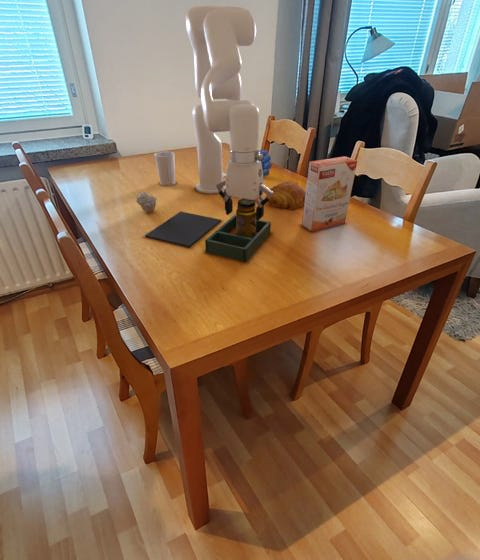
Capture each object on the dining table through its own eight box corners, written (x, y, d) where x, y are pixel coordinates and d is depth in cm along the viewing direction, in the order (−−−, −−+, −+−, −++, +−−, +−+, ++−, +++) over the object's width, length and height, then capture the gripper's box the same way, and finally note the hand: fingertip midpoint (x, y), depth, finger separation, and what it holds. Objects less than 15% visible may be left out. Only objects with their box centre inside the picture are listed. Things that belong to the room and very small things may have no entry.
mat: (180, 213, 125) (180, 211, 124) (221, 221, 119) (220, 219, 119) (145, 237, 110) (145, 235, 109) (189, 247, 104) (189, 246, 104)
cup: (154, 184, 148) (150, 155, 141) (164, 178, 154) (161, 150, 148) (171, 187, 146) (167, 157, 139) (180, 181, 152) (178, 152, 145)
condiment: (261, 239, 108) (263, 202, 101) (238, 247, 104) (238, 209, 98) (248, 230, 113) (248, 194, 106) (225, 237, 109) (224, 200, 103)
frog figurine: (136, 210, 127) (133, 191, 123) (156, 207, 129) (153, 188, 125) (139, 216, 122) (136, 197, 118) (160, 213, 124) (157, 194, 120)
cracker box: (312, 233, 112) (320, 166, 100) (301, 225, 116) (307, 161, 104) (346, 224, 117) (358, 159, 105) (334, 217, 122) (344, 154, 110)
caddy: (234, 226, 116) (234, 214, 114) (270, 233, 111) (270, 222, 109) (205, 252, 102) (204, 240, 99) (245, 262, 97) (245, 249, 95)
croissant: (260, 208, 133) (258, 188, 128) (285, 191, 141) (284, 172, 136) (291, 218, 125) (290, 197, 120) (316, 200, 133) (316, 180, 128)
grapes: (277, 179, 154) (279, 151, 147) (265, 182, 151) (266, 153, 144) (261, 172, 162) (262, 145, 155) (249, 175, 158) (249, 147, 152)
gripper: (279, 156, 94) (276, 216, 104) (221, 149, 100) (223, 206, 110) (269, 163, 89) (266, 226, 98) (208, 156, 95) (212, 215, 104)
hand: (244, 215), depth 104 cm, fingers open, 9 cm apart
